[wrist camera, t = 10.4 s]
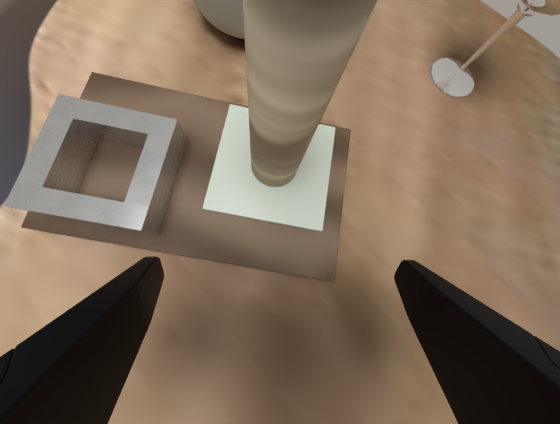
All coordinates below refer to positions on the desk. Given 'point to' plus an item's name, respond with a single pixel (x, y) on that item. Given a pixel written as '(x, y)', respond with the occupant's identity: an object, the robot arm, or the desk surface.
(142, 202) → the collar
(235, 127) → the coaster
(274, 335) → the desk surface
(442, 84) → the wineglass
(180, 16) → the desk surface
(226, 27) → the teacup
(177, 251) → the board
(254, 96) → the peg
